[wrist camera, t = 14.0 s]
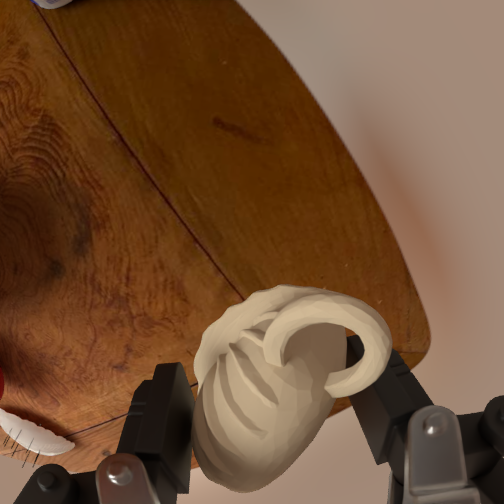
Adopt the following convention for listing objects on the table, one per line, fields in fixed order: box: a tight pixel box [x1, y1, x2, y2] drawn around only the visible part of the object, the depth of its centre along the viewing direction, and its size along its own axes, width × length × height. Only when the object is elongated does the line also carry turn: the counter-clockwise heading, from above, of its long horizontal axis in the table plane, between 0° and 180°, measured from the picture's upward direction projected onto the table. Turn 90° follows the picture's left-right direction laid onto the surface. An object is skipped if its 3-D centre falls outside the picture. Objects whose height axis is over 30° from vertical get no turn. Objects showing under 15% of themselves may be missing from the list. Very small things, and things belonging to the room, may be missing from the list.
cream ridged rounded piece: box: [191, 284, 392, 493], centre depth 8 cm, size 4×8×5 cm, turn 154°
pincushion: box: [0, 408, 75, 464], centre depth 23 cm, size 12×6×6 cm, turn 76°
